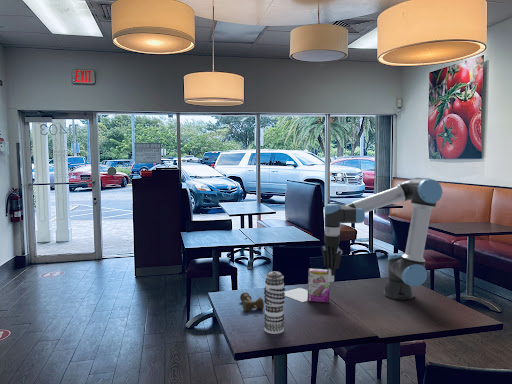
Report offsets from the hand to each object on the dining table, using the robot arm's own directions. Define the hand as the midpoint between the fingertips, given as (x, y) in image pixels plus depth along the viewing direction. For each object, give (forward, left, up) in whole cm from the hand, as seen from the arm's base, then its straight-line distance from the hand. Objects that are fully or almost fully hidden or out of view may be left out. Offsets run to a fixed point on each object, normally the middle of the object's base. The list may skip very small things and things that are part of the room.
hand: (331, 281), depth 206 cm
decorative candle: (-5, +42, -13) cm, 44 cm away
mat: (+21, 0, -12) cm, 24 cm away
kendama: (+23, +33, -13) cm, 42 cm away
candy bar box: (+8, 0, -13) cm, 15 cm away
